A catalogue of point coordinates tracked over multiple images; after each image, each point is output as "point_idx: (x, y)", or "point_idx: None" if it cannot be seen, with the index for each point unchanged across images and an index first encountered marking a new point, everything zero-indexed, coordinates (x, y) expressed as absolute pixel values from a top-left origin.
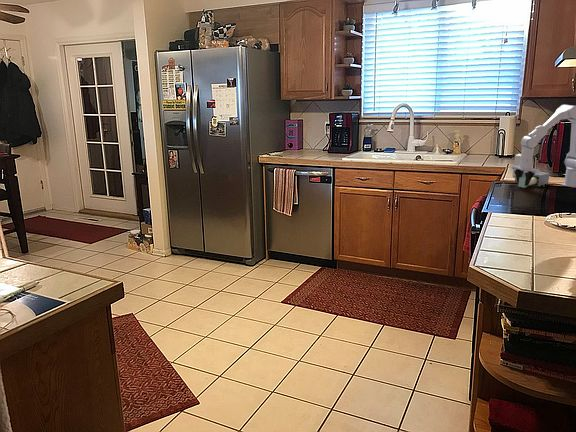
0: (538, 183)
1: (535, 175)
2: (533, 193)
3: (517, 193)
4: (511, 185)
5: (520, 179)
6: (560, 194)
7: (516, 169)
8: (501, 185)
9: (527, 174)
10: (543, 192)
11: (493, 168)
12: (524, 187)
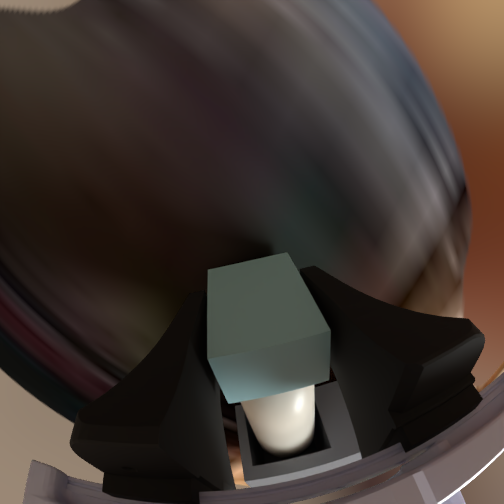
0: (240, 422)
1: (286, 466)
2: (22, 205)
3: (70, 39)
4: (375, 248)
5: (295, 314)
6: (14, 355)
7: (473, 402)
8: (421, 156)
9: (106, 416)
10: (48, 313)
11: (500, 367)
12: (208, 275)
